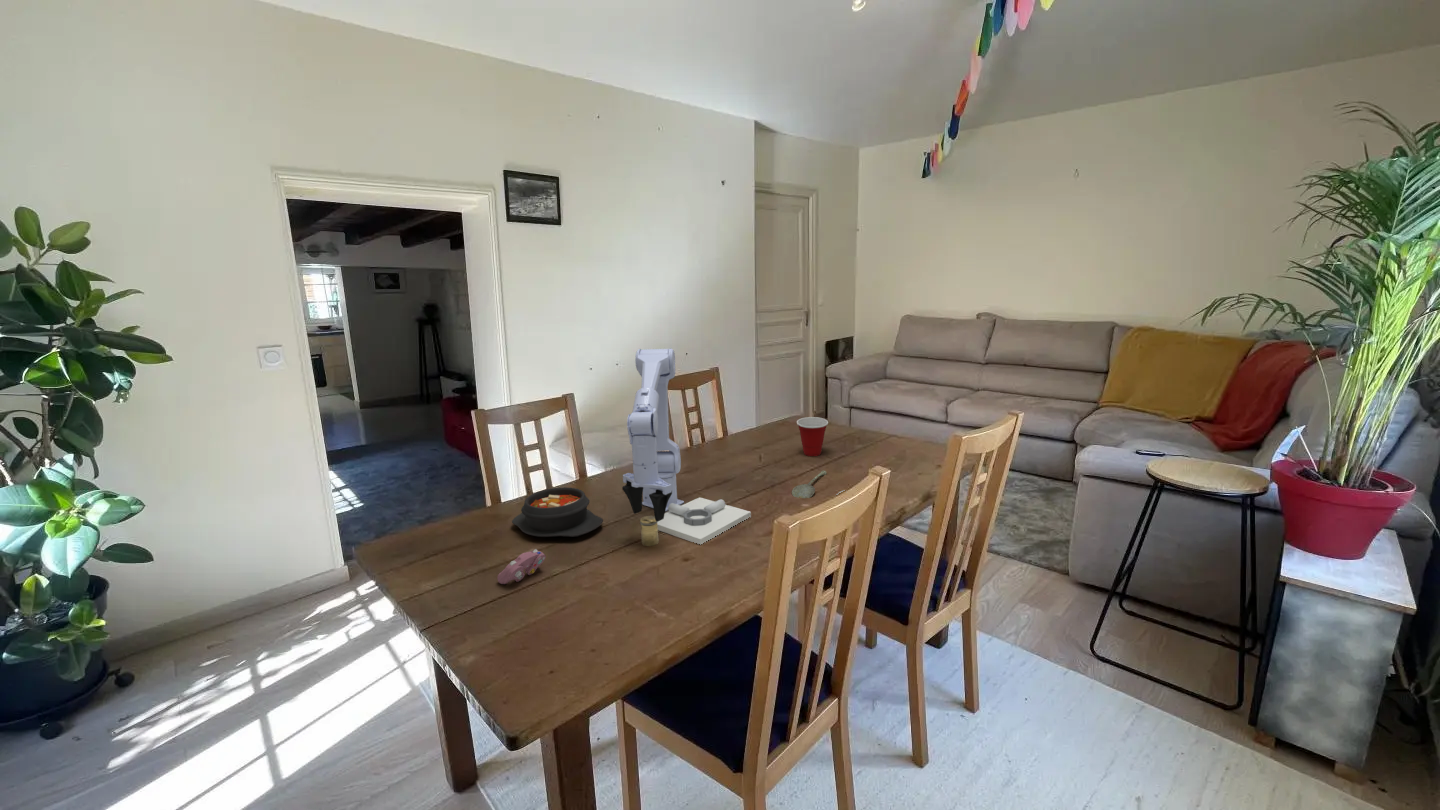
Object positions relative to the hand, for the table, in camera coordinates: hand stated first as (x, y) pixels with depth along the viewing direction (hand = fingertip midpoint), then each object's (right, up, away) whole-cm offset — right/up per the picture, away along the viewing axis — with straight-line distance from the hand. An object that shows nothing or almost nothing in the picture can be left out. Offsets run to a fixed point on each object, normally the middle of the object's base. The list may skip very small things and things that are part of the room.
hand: (648, 516), depth 142 cm
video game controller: (-26, -11, -13) cm, 31 cm away
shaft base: (+12, -4, +12) cm, 18 cm away
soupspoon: (+45, +2, +36) cm, 57 cm away
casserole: (-25, -5, +12) cm, 28 cm away
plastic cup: (+49, +9, +65) cm, 82 cm away
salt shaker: (0, -7, +2) cm, 7 cm away
